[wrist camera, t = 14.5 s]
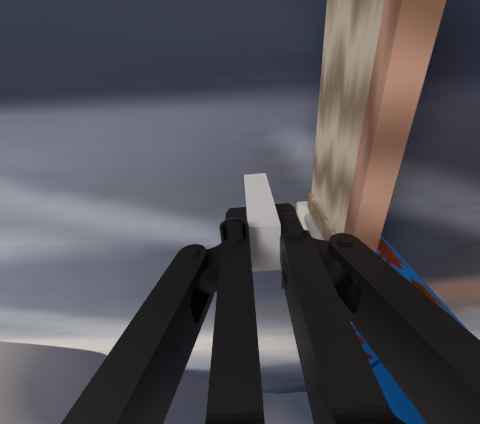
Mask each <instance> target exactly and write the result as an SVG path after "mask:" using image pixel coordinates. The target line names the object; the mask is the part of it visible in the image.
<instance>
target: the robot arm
mask: <svg viewBox="0 0 480 424" xmlns="http://www.w3.org/2000/svg"><path fill="white" fill-rule="evenodd" d="M244 182H245V196H246V207H241V208H230V209H229V210H228V211H227V213H226V220H225V221H224V222H222V223H221V225H220V233H221V240H222V243H221V244H219V245H218V246H216V247H214V248H211V249H207V250H206V248H205V247H204V246H202V245H198V244H192V245H189V246H186V247H184V248H182V249H181V250H180V251H179V252H178V254H177V255H176V256H175V258H174V259H173V261H172V262H171V264H170V265H169V267H168V268H167V270H166V271H165V273H164V274H163V275H162V277H161V278H160V280H159V281H158V283H157V284H156V286H155V287H154V289H153V290H152V292H151V293H150V294H149V296H148V297H147V299H146V300H145V302H144V303H143V305H142V306H141V308H140V309H139V311H138V312H137V313H136V315H135V316H134V318H133V319H132V321H131V322H130V324H129V325H128V327H127V328H126V330H125V331H124V332H123V334H122V335H121V337H120V338H119V340H118V341H117V343H116V344H115V346H114V347H113V349H112V350H111V351H110V353H109V354H108V356H107V357H106V359H105V360H104V362H103V363H102V365H101V366H100V368H99V369H98V371H97V372H96V373H95V375H94V376H93V378H92V379H91V381H90V382H89V384H88V385H87V386H86V388H85V390H84V391H83V392H82V394H81V396H80V397H79V398H78V400H77V401H76V403H75V404H74V405H73V407H72V408H71V410H70V411H69V413H68V414H67V416H66V417H65V419H64V420H63V422H62V423H61V424H163V423H164V420H165V418H166V415H167V413H168V410H169V408H170V405H171V402H172V400H173V397H174V395H175V392H176V390H177V387H178V385H179V382H180V380H181V377H182V375H183V372H184V370H185V367H186V365H187V362H188V360H189V357H190V355H191V352H192V349H193V347H194V344H195V342H196V339H197V337H198V334H199V332H200V329H201V327H202V324H203V322H204V319H205V317H206V314H207V312H208V309H209V307H210V304H211V301H212V299H213V296H214V292H216V291H217V300H216V311H215V323H214V334H213V345H212V357H211V368H210V379H209V391H208V402H207V414H206V422H205V424H265V423H264V411H263V398H262V386H261V373H260V361H259V349H258V337H257V324H256V312H255V300H254V287H253V275H252V272H255V271H269V270H281V268H282V288H284V289H285V294H286V299H287V303H288V308H289V312H290V317H291V321H292V326H293V331H294V335H295V340H296V344H297V349H298V353H299V358H300V363H301V367H302V372H303V376H304V381H305V385H306V390H307V394H308V399H309V404H310V408H311V412H312V417H313V421H314V424H406V423H405V422H403V421H402V420H400V419H399V418H397V417H396V416H395V415H394V413H393V412H392V410H391V408H390V406H389V404H388V402H387V400H386V398H385V396H384V393H383V391H382V389H381V387H380V385H379V382H378V380H377V378H376V376H375V374H374V372H373V369H372V367H371V365H370V363H369V361H368V358H367V356H366V354H365V352H364V350H363V348H362V345H361V343H360V341H359V339H358V337H357V335H356V332H355V330H354V328H353V326H352V324H353V325H354V326H355V328H356V329H357V331H358V332H359V333H360V335H361V336H362V337H363V339H364V340H365V341H366V343H367V344H368V345H369V347H370V348H371V349H372V351H373V352H374V353H375V355H376V356H377V357H378V359H379V360H380V361H381V363H382V364H383V365H384V367H385V368H386V369H387V371H388V372H389V373H390V375H391V376H392V377H393V379H394V380H395V381H396V383H397V384H398V385H399V387H400V388H401V389H402V391H403V392H404V393H405V395H406V396H407V397H408V399H409V400H410V402H411V403H412V404H413V406H414V407H415V408H416V410H417V411H418V412H419V414H420V415H421V416H422V418H423V419H424V420H425V422H426V423H427V424H480V340H479V339H478V338H476V337H475V336H474V335H473V334H472V333H470V332H469V331H468V330H467V329H466V328H464V327H463V326H462V325H461V324H460V323H459V322H457V321H456V320H455V319H454V318H453V317H451V316H450V315H449V314H448V313H447V312H445V311H444V310H443V309H442V308H441V307H439V306H438V305H437V304H436V303H435V302H433V301H432V300H431V299H430V298H429V297H428V296H426V295H425V294H424V293H423V292H422V291H420V290H419V289H418V288H417V287H416V286H414V285H413V284H412V283H411V282H410V281H408V280H407V279H406V278H405V277H404V276H402V275H401V274H400V273H399V272H398V271H397V270H395V269H394V268H393V267H392V266H391V265H389V264H388V263H387V262H386V261H385V260H383V259H382V258H381V257H380V256H379V255H377V254H376V253H375V252H374V251H373V250H371V249H370V248H369V247H368V246H367V245H366V244H364V243H363V242H362V241H361V240H360V239H358V238H357V237H355V236H353V235H350V234H347V233H336V234H334V235H332V236H331V237H330V238H329V241H327V240H320V239H315V238H312V237H311V234H310V233H309V232H308V231H306V230H304V229H303V227H302V224H301V222H300V220H299V218H298V215H297V213H296V211H295V208H294V207H293V206H292V205H290V204H289V203H285V204H274V200H273V197H272V194H271V190H270V187H269V183H268V180H267V176H266V173H263V174H250V175H244ZM351 322H352V324H351Z"/></svg>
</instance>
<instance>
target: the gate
mask: <svg viewBox="0 0 480 424" xmlns="http://www.w3.org/2000/svg"><path fill="white" fill-rule="evenodd" d="M445 3H446V0H327V7H326V20H325V32H324V44H323V56H322V69H321V81H320V93H319V105H318V118H317V130H316V142H315V154H314V167H313V179H312V191H311V193H308V201H307V208H308V210H309V212H310V214H311V216H312V217H313V219H314V221H315V223H316V225H317V227H318V229H319V231H320V233H321V235H322V237H323V239H324V240H327V241H329V238H330V237H331V236H332V235H334V234H336V233H347V234H350V235H353V236H355V237H357V238H358V239H360V240H361V241H362V242H363V243H364V244H366V245H367V246H368V247H369V248H370V249H371V250H373V251H374V252H375V253H376V251H377V248H378V244H379V240H380V237H381V233H382V230H383V226H384V223H385V219H386V215H387V212H388V208H389V205H390V201H391V197H392V194H393V190H394V187H395V183H396V179H397V176H398V172H399V169H400V165H401V161H402V158H403V154H404V151H405V147H406V144H407V140H408V136H409V133H410V129H411V126H412V122H413V118H414V115H415V111H416V108H417V104H418V100H419V97H420V93H421V90H422V86H423V82H424V79H425V75H426V72H427V68H428V65H429V61H430V57H431V54H432V50H433V47H434V43H435V39H436V36H437V32H438V29H439V25H440V21H441V18H442V14H443V11H444V7H445Z"/></svg>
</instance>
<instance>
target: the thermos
mask: <svg viewBox="0 0 480 424" xmlns="http://www.w3.org/2000/svg"><path fill="white" fill-rule="evenodd" d="M376 254H377V255H379V256H380V257H381V258H382V259H383V260H385V261H386V262H387V263H388V264H389V265H391V266H392V267H393V268H394V269H395V270H397V271H398V272H399V273H400V274H401V275H402V276H404V277H405V278H406V279H407V280H408V281H410V282H411V283H412V284H413V285H414V286H416V287H417V288H418V289H419V290H420V291H422V292H423V293H424V294H425V295H426V296H428V297H429V298H430V299H431V300H432V301H433V302H435V303H436V304H437V305H438V306H439V307H441V308H442V309H443V310H444V311H445V312H447V313H448V314H449V315H450V316H451V317H453V318H454V319H455V320H456V321H457V322H459V323H460V324H461V325H462V323H461V322H460V321H459V320H458V319H457V318H456V317H455V316H454V314H453V313H452V312H451V311H450V310H449V309H448V308H447V307H446V306H445V304H444V303H443V302H442V301H441V300H440V299H439V298H438V297H437V296H436V294H435V293H434V292H433V291H432V290H431V289H430V288H429V287H428V285H427V284H426V283H425V282H424V281H423V280H422V279H421V278H420V277H419V275H418V274H417V273H416V272H415V271H414V270H413V269H412V268H411V267H410V265H409V264H408V263H407V262H406V261H405V260H404V259H403V258H402V256H401V255H400V254H399V253H398V252H397V251H396V250H395V249H394V248H393V246H392V245H391V244H389V243H388V242H387V241H386V240H385V239H384V238H383V237H382V236H381V237H380V240H379V244H378V248H377V251H376ZM352 326H353V328H354V330H355V332H356V335H357V337H358V339H359V341H360V343H361V345H362V348H363V350H364V352H365V354H366V356H367V358H368V361H369V363H370V365H371V367H372V369H373V372H374V374H375V376H376V378H377V380H378V382H379V385H380V387H381V389H382V391H383V393H384V396H385V398H386V400H387V402H388V404H389V406H390V408H391V410H392V412H393V413H394V415H395V416H396V417H397V418H399V419H400V420H402V421H403V422H405V423H406V424H427V423H426V422H425V420H424V419H423V418H422V416H421V415H420V414H419V412H418V411H417V410H416V408H415V407H414V406H413V404H412V403H411V402H410V400H409V399H408V397H407V396H406V395H405V393H404V392H403V391H402V389H401V388H400V387H399V385H398V384H397V383H396V381H395V380H394V379H393V377H392V376H391V375H390V373H389V372H388V371H387V369H386V368H385V367H384V365H383V364H382V363H381V361H380V360H379V359H378V357H377V356H376V355H375V353H374V352H373V351H372V349H371V348H370V347H369V345H368V344H367V343H366V341H365V340H364V339H363V337H362V336H361V335H360V333H359V332H358V331H357V329H356V328H355V326H354V325H352ZM462 326H463V325H462ZM463 327H464V326H463ZM464 328H465V327H464Z"/></svg>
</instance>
